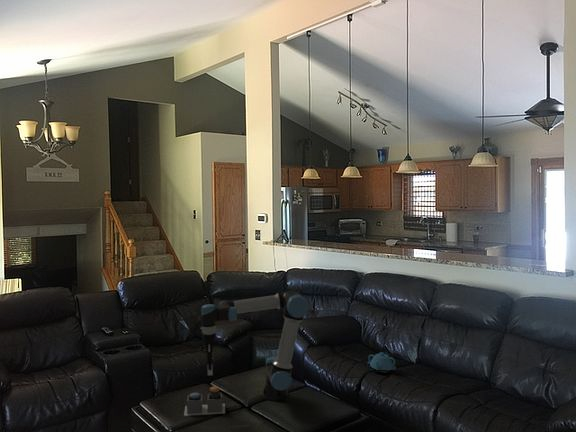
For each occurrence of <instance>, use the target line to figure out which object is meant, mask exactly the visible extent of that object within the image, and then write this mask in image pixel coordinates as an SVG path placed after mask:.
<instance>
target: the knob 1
mask: <svg viewBox="0 0 576 432" xmlns="http://www.w3.org/2000/svg"><path fill="white" fill-rule="evenodd" d="M189 395H190V398H191V400H199V397H200V392H192V393H190V394H189Z"/></svg>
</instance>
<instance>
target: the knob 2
mask: <svg viewBox="0 0 576 432" xmlns="http://www.w3.org/2000/svg"><path fill="white" fill-rule="evenodd" d="M209 391H210V394H211V399H219V393H220V391H221V388H220V386H211V387H210V388H209Z"/></svg>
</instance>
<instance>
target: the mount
mask: <svg viewBox="0 0 576 432" xmlns="http://www.w3.org/2000/svg"><path fill="white" fill-rule="evenodd" d="M199 394H200V393H199ZM186 398H187V399H186V405H185V406H184V411H183V412H184V413H183V416H184V417H186V416H187V417H188V416H200V415H204V416H205V415H219V414H226V404H225V403H223V393H221V392H219V399H211V393H207V404H203V394H202V393H201V394H200V397H199V400H191V398H190V394H187V397H186Z"/></svg>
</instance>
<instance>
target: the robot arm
mask: <svg viewBox="0 0 576 432" xmlns="http://www.w3.org/2000/svg"><path fill="white" fill-rule="evenodd" d="M200 309H201V313H200V314H201V327H200V329H201V333H202V334H201V338H202V339H201V340H202V342H205V350H206V351H205V352H206V357H207V359H206V360H207V362H206V364H205V365H207V367H206V368H207V376H213V375H214V373H213V372H214V371H213V363H214V360H213V349H214V348H213V347H214V342H215V341H216V340H217V334H216V333H217V327H216V323H220V322H223V323H224V322H233V321H237V320H238V314H244V313H250V312H258V311H265V310H271V309H277V310H283V314H282V317H283V319H284V322H283V327H282V332H281V337H280V340H279V344H278V349H277V355H276V356H269V357H267V358H266V359H265V385H264V388H263V391H262V397H263V398H264V399H265V400H268V401H275V402H276V401H278V400H279V401H283V400H286V399H287V398H288V397H289V390H288V388H290V386H291V384H292V381H293V376H292V370H293V364H292V363H291V362H292V358H293V355H294V351H295V350H294V349H295V346H296V340H297V336H298V332H299V327H300V323H301V322H303V321H304V317H305V315H306V314H307V312H308V309H309V306H308V303H307V300H306V298H305V297H304V296H303V295H302V294H300V293H299V292H297V291H295V290H288V291H283V292H276V294H273V295H266V296H260V297H259V296H258V297H253V298H245V299H238V300H231V301H228V300H223V301H220V302H219V304H218V306H217V307H216V305H215V304H212V303H208V304H203V305H202V306H201V308H200ZM285 398H286V399H285Z"/></svg>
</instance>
